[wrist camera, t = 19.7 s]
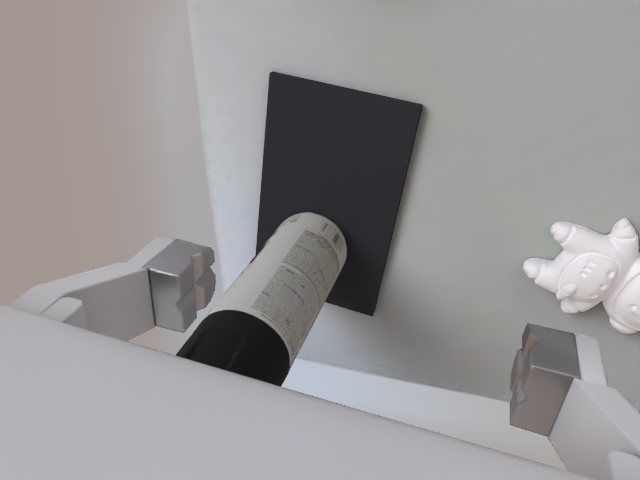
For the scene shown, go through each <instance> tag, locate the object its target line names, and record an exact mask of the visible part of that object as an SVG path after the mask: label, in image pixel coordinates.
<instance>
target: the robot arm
mask: <svg viewBox="0 0 640 480" xmlns="http://www.w3.org/2000/svg"><path fill="white" fill-rule="evenodd" d="M214 262H215V260H214V251H213V250H212V249H211V248H210V247H207V246H202V245H199V244H195V243H191V242H187V241H183V240H180V239H176V238H171V237H167V236H158V237H157V238H156V239H154V240H153V241H152V242H151V243H149V244H148V245H147V246H146V247H145V248H143V249H142V250H141V251H140V252H139V253H137V254H136V255H135V256H134V257H133V258H131V259H130V260H129V261H128V262H127V263H121V262H120V263H116V264H112V265H109V266H105V267H102V268H98V269H94V270H91V271H87V272H84V273H80V274H77V275H73V276H69V277H66V278H62V279H58V280H55V281H51V282H47V283H44V284H40V285H36V286H34V287H33V288H32V289H31V290H29V291H28V292H26V293H25V294H23V295H22V296H21V297H19V298H18V299H16V300H15V301H14V302H12V303H11V304H10V305H8V306H5V305H1V304H0V480H640V413H639V412H638V411H637V410H636V409H635V408H634V407H633V406H632V405H631V404H630V403H629V402H628V401H627V400H626V399H625V398H624V397H623V396H622V395H621V394H620V393H619V392H618V391H617V390H616V389H615V388H612V387H608V384H607V379H606V374H605V369H604V364H603V359H602V354H601V349H600V344H599V340H598V339H597V338H596V337H592V336H587V335H582V334H577V333H570V332H565V331H561V330H556V329H552V328H548V327H543V326H539V325H534V324H530V323H527V325H526V327H525V330H524V333H523V336H522V348H521V349H520V350H518V351H517V354H516V357H515V360H514V364H513V368H512V373H511V385H510V389H511V391H512V392H513V396H512V399H511V402H510V425H512V426H515V427H518V428H521V429H525V430H528V431H531V432H535V433H538V434H541V435H544V436H547V437H549V438H548V439H549V441H550V442H551V443H552V446H553V447H554V449H555V450H556V452H557V454H558V455H559V457H560V458H561V460H562V462H563V463H564V465H565V466H566V468H567V470H568V471H565V470H562V469H558V468H555V467H551V466H548V465H545V464H541V463H538V462H535V461H531V460H528V459H524V458H521V457H518V456H514V455H511V454H508V453H504V452H501V451H498V450H494V449H491V448H487V447H484V446H480V445H477V444H474V443H470V442H467V441H464V440H460V439H456V438H453V437H450V436H447V435H443V434H440V433H436V432H433V431H430V430H426V429H423V428H419V427H416V426H413V425H409V424H406V423H402V422H399V421H396V420H392V419H389V418H385V417H382V416H379V415H375V414H371V413H368V412H365V411H362V410H358V409H354V408H351V407H348V406H345V405H341V404H338V403H334V402H331V401H327V400H324V399H321V398H317V397H314V396H310V395H307V394H304V393H300V392H297V391H294V390H290V389H287V388H283V387H280V386H277V385H273V384H270V383H266V382H263V381H260V380H256V379H253V378H249V377H246V376H243V375H239V374H236V373H233V372H229V371H226V370H222V369H219V368H216V367H212V366H209V365H205V364H202V363H199V362H195V361H192V360H188V359H185V358H182V357H178V356H175V355H171V354H168V353H164V352H161V351H158V350H154V349H151V348H148V347H144V346H141V345H137V344H134V343H131V342H127V341H128V340H130V339H132V338H134V337H136V336H138V335H140V334H142V333H144V332H146V331H148V330H150V329H152V328H154V327H155V326H158V327H162V328H166V329H170V330H174V331H178V332H182V333H184V332H185V331H186V330H187V329H188V327H189V326H190V325H191V324H192V323H193V322H194V320H195V319H196V318H197V315H196V311H198V310H200V309H203V308H205V307H206V306H207V305H208V303H209V302H210V301H211V298H212V295H213V294H214V291H215V284H216V280H215V274H214V273H213V271H212V270H211V268H210V266H211V265H212V264H213V263H214Z"/></svg>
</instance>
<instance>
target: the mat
mask: <svg viewBox="0 0 640 480" xmlns="http://www.w3.org/2000/svg"><path fill="white" fill-rule="evenodd" d="M422 106H423V105H422V104H417V103H413V102H408V101H404V100H399V99H395V98H390V97H386V96H381V95H377V94H372V93H367V92H363V91H358V90H354V89H349V88H345V87H340V86H336V85H331V84H327V83H322V82H318V81H313V80H309V79H304V78H299V77H295V76H290V75H286V74H281V73H277V72H271V73H270V77H269V90H268V103H267V116H266V129H265V142H264V155H263V168H262V181H261V194H260V207H259V220H258V233H257V246H256V255H257V253H258V252H259V251H260V250H261V248H262V247H263V246H264V245H265V243H266V241H267V240H268V239H269V238H270V237H271V236H272V235H273V233H274V232H275V231H276V230H277V228H278V227H279V226H280V225H281V224H282V223H283V222H284V221H285V220H286V219H288V218H289V217H291V216H294V215H296V214H300V213H306V212H311V213H315V214H319V215H322V216H324V217H326V218H328V219H329V220H330V221H332V222H333V223H335V224H336V225H337V226H338V227H339V229H340V230H341V232H342V233H343V235H344V238H345V241H346V246H347V256H346V261H345V263H344V266H343V268H342V270H341V271H340V273H339V276H338V277H337V279H336V281H335V283H334V285H333V287H332V289H331V291H330V293H329V295H328V297H327V299H326V300H325V302H327V303H331V304H334V305H337V306H340V307H344V308H347V309H350V310H353V311H357V312H360V313H363V314H367V315H370V316H373V314H374V311H375V307H376V302H377V298H378V294H379V290H380V285H381V281H382V277H383V272H384V268H385V264H386V260H387V255H388V251H389V247H390V243H391V238H392V234H393V230H394V226H395V221H396V217H397V213H398V208H399V204H400V200H401V196H402V191H403V187H404V183H405V179H406V174H407V170H408V166H409V162H410V157H411V153H412V149H413V144H414V140H415V136H416V132H417V127H418V123H419V119H420V115H421V110H422Z"/></svg>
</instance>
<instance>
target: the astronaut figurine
mask: <svg viewBox="0 0 640 480" xmlns="http://www.w3.org/2000/svg"><path fill="white" fill-rule="evenodd" d="M550 231H551V234H553V235H554V239H555V240H556V241H558V242H560V245H561V247H562V248H563V250H562V251H561V252H560V254H559V255H558V256H557V257H556V258H555V259H554V260H545V259H541V258H529V259H527V260H525V262H524V264H523V270H524V272H525V273H526V274H527V276H528V277H529V278H533V279H534V282H535V283H536V284H537V285H539V286H541V287H542V288H544V289H546V290H548V291H550V292H553V293H555V294H556V298H557V299H558V300H562V301H561V309H562V310H563V311H564V312H565V313H571V314H573V313H578V312H579V311H581V312H585V311H587V310H588V309H590V308H592V307H593V306H595V305H597V304H598V303H599V302H601V301H602V303H603V306H604V308H605V310H606V312H607V314H608V315H609V316H610V324H611V325H612V326H613V327H614V328H615V329H616V330H617V331H619V332H621V333H625V334H632V333H636V332H637V331H640V252H638V249H639V241H638V236H637V234H636V231H635V229H634V227H633V226H632V225H631V223H630V222H629V221H628V220H627V219H626V218H623V219H620V220H618V221H617V222H616V223H615V224H614V226H613V227H612V230H611V233H610V234H608V235H602V234H599V233H597V232H595V231H592V230H590V229H588V228H586V227H584V226H580V225H576V224H573V223H570V222H556V223H554V224H553V225H552V227H551V229H550Z"/></svg>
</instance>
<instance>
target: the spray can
mask: <svg viewBox="0 0 640 480" xmlns="http://www.w3.org/2000/svg"><path fill="white" fill-rule="evenodd" d="M346 256H347V246H346V241H345V238H344V235H343V233H342V232H341V230H340V229H339V227H338V226H337V225H336V224H335V223H333V222H332V221H330V220H329V219H328V218H326V217H324V216H322V215H319V214H315V213H311V212H306V213H300V214H296V215H294V216H291V217H289V218H288V219H286V220H285V221H284V222H283V223H282V224H281V225H280V226H279V227H278V228H277V230H276V231H275V232H274V233H273V235H272V236H271V237H270V238H269V239H268V240H267V241H266V243H265V245H264V246H263V247H262V248H261V250H260V251H259V252H258V253H257V255H256V256H255V257H254V258H253V259H252V261H251V262H250V263H249V264H248V266H247V267H246V268H245V269H244V270H243V272H242V273H241V274H240V275H239V277H238V278H237V279H236V280H235V281H234V283H233V284H232V285H231V286H230V288H229V289H228V290H227V291H226V292H225V294H224V295H223V296H222V297H221V298H220V300H219V301H218V302H217V303H216V305H215V306H214V307H213V309H211V311H210V312H209V313H208V314H207V316H206V317H205V318H204V320H203V321H202V322H201V323H200V324H199V326H198V327H197V329H196V330H195V331H194V332H193V334H192V335H191V337H190V338H189V339H188V340H187V341H186V343H185V344H184V345H183V347H182V348H181V349H180V350H179V352H178V353H177V354H176V355H175V356H178V357H182V358H185V359H188V360H192V361H195V362H199V363H202V364H205V365H209V366H212V367H216V368H219V369H222V370H226V371H229V372H233V373H236V374H239V375H243V376H246V377H249V378H253V379H256V380H260V381H263V382H266V383H270V384H273V385H277V386H280V387H281V385H282V383H283V382H284V380H285V378H286V376H287V375H288V372H289V370H290V368H291V366H292V364H293V362H294V360H295V358H296V356H297V354H298V352H299V351H300V349H301V347H302V345H303V343H304V341H305V339H306V337H307V335H308V333H309V331H310V329H311V328H312V326H313V324H314V322H315V320H316V318H317V316H318V314H319V312H320V310H321V308H322V306H323V304H324V302H325V300H326V299H327V297H328V295H329V293H330V291H331V289H332V287H333V285H334V283H335V281H336V279H337V277H338V276H339V273H340V271H341V270H342V268H343V266H344V263H345V261H346Z"/></svg>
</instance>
